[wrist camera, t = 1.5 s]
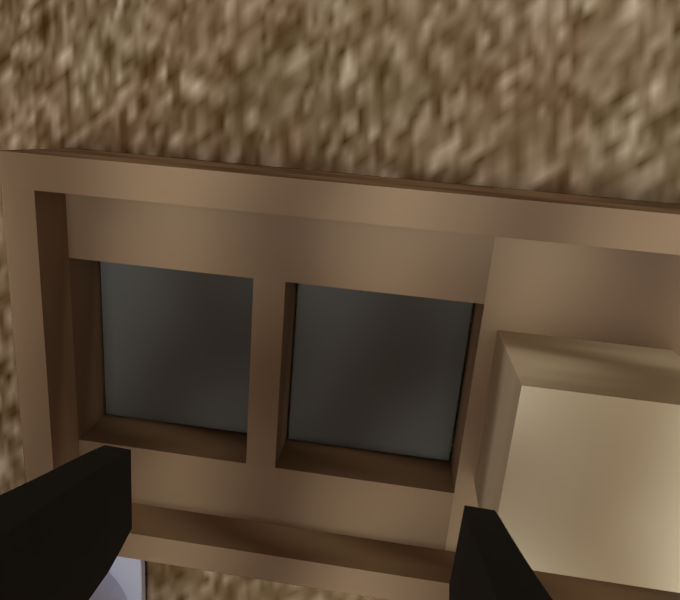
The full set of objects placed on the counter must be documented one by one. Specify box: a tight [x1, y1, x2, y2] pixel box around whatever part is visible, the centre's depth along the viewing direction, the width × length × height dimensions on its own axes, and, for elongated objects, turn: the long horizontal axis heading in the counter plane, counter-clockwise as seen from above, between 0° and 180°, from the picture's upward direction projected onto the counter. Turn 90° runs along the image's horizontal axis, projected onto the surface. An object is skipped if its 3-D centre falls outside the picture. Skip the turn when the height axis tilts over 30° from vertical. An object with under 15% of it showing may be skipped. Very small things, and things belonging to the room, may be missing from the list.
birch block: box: [473, 330, 680, 593], centre depth 16 cm, size 5×5×4 cm
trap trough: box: [0, 148, 680, 600], centre depth 18 cm, size 28×13×4 cm, turn 85°
